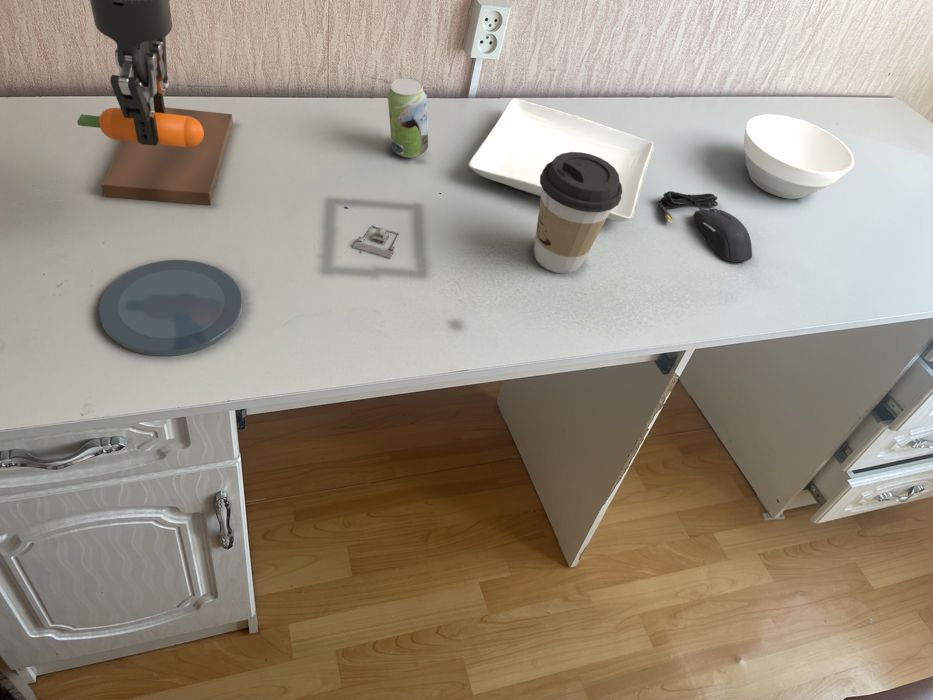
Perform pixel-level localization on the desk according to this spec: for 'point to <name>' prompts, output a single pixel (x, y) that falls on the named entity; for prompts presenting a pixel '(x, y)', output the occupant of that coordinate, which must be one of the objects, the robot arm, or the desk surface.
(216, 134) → the cutting board
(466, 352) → the desk surface
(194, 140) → the carrot
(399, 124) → the beverage can
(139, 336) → the slate plate
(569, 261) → the coffee cup
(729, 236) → the computer mouse
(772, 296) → the desk surface
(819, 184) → the bowl
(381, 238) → the metal mounting bracket
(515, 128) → the square plate
